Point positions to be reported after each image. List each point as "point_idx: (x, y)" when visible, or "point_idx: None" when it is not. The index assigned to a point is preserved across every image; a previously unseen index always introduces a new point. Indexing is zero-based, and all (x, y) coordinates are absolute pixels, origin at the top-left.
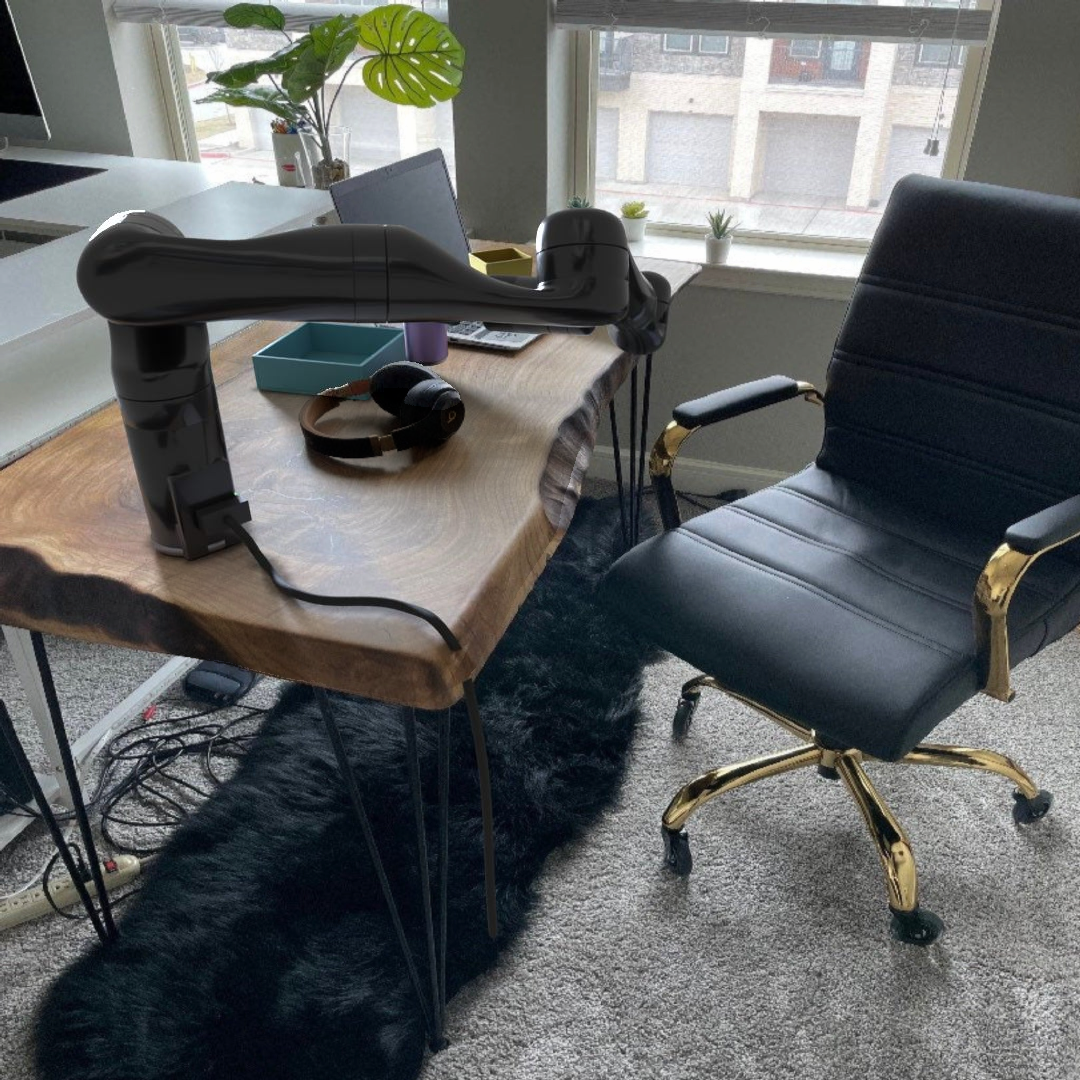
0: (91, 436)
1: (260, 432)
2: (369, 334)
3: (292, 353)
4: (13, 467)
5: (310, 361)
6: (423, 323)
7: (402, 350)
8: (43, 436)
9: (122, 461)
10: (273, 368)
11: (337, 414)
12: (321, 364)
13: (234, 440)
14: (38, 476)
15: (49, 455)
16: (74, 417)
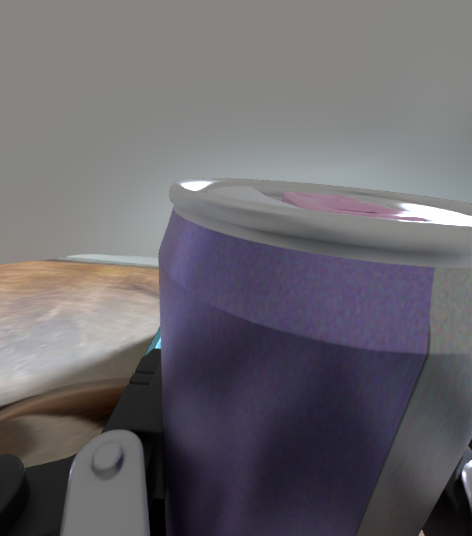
0: (79, 272)
1: (22, 361)
2: None
3: None
4: (33, 261)
5: (156, 333)
6: (166, 533)
7: None
8: (89, 259)
9: (3, 293)
10: None
11: (55, 439)
12: (148, 348)
13: (7, 345)
14: (3, 270)
15: (47, 266)
16: (123, 261)
